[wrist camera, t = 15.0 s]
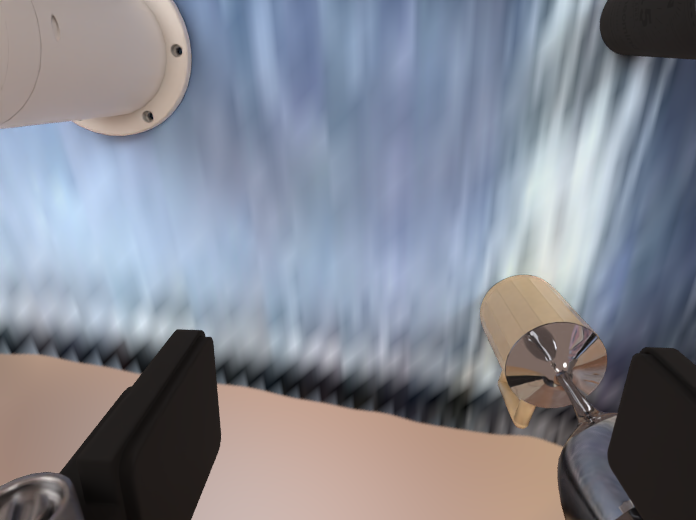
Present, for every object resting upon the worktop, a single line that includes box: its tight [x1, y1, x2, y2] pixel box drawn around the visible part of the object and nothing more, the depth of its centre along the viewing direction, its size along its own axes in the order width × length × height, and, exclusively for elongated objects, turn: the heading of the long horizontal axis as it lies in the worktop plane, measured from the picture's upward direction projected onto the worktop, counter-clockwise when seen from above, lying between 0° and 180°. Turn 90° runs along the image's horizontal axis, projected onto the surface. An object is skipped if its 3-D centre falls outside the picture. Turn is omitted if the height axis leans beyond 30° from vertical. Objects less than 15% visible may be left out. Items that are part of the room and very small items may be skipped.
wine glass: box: [505, 322, 643, 520], centre depth 27 cm, size 8×8×15 cm
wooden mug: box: [480, 275, 606, 428], centre depth 39 cm, size 10×7×9 cm
